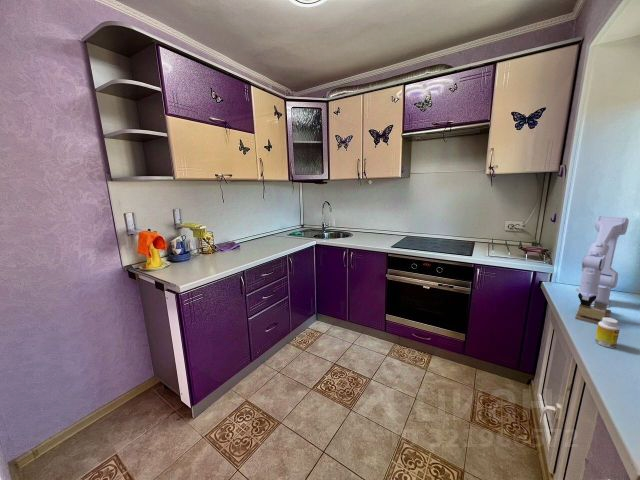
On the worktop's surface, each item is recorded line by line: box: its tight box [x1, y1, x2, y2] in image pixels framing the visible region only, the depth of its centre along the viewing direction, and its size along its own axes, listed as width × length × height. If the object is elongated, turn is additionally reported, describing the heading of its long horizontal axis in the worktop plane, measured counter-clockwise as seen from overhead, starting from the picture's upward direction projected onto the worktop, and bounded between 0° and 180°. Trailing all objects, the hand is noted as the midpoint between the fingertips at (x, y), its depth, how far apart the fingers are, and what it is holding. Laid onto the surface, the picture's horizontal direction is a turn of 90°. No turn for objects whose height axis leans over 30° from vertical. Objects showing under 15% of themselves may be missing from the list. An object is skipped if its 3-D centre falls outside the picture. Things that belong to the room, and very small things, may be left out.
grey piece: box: [593, 299, 608, 322], centre depth 119 cm, size 16×4×5 cm, turn 130°
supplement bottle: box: [594, 317, 621, 349], centre depth 99 cm, size 6×6×10 cm
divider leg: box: [577, 303, 605, 320], centre depth 116 cm, size 3×8×5 cm, turn 40°
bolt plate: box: [574, 305, 612, 326], centre depth 121 cm, size 19×10×1 cm, turn 130°
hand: (584, 309), depth 120 cm, fingers closed
